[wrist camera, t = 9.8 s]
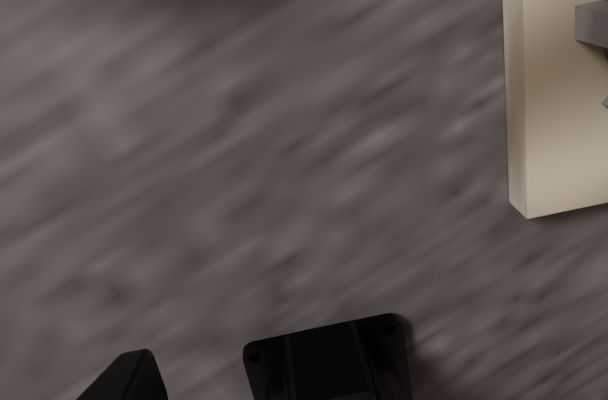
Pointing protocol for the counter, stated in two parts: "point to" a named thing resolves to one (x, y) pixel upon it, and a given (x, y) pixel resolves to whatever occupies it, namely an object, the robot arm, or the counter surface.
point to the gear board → (556, 104)
